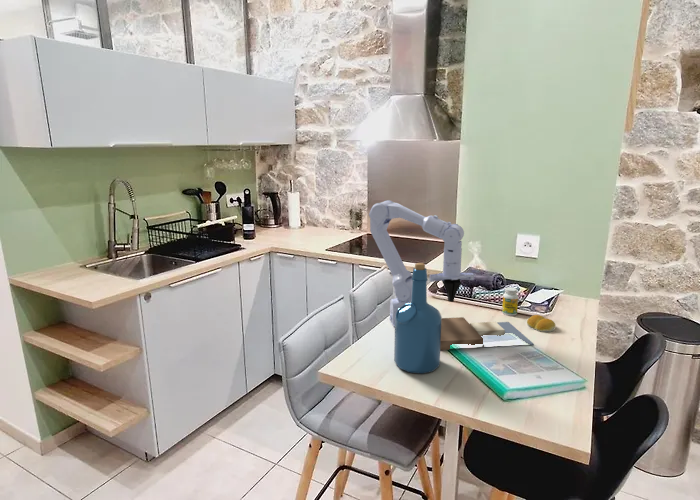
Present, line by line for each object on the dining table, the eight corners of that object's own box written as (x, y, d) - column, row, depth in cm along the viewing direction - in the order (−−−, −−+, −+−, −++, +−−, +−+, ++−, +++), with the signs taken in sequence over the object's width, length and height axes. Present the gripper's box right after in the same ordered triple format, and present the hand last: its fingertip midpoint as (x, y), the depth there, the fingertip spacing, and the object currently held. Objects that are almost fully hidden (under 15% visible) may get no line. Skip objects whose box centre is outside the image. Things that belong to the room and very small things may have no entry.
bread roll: (545, 335, 149) (546, 323, 148) (522, 326, 156) (523, 315, 155) (560, 329, 153) (561, 318, 152) (537, 321, 160) (538, 310, 160)
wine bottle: (419, 349, 138) (422, 255, 131) (450, 367, 127) (455, 265, 121) (383, 361, 131) (384, 262, 124) (413, 380, 120) (416, 273, 113)
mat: (484, 347, 139) (484, 346, 139) (464, 325, 157) (464, 323, 157) (533, 345, 141) (533, 343, 141) (508, 323, 158) (508, 321, 158)
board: (438, 350, 138) (439, 341, 137) (423, 327, 155) (424, 319, 155) (482, 347, 139) (483, 338, 139) (463, 325, 157) (463, 317, 156)
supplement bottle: (516, 311, 169) (518, 287, 167) (517, 316, 164) (519, 291, 162) (501, 310, 171) (503, 286, 168) (501, 315, 166) (503, 290, 163)
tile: (477, 338, 145) (477, 331, 144) (469, 329, 152) (470, 322, 151) (504, 337, 146) (504, 330, 145) (495, 328, 152) (495, 321, 152)
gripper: (434, 265, 143) (432, 305, 146) (478, 263, 144) (475, 303, 148) (428, 260, 150) (427, 298, 153) (470, 258, 151) (468, 296, 154)
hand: (450, 300), depth 151 cm, fingers closed
